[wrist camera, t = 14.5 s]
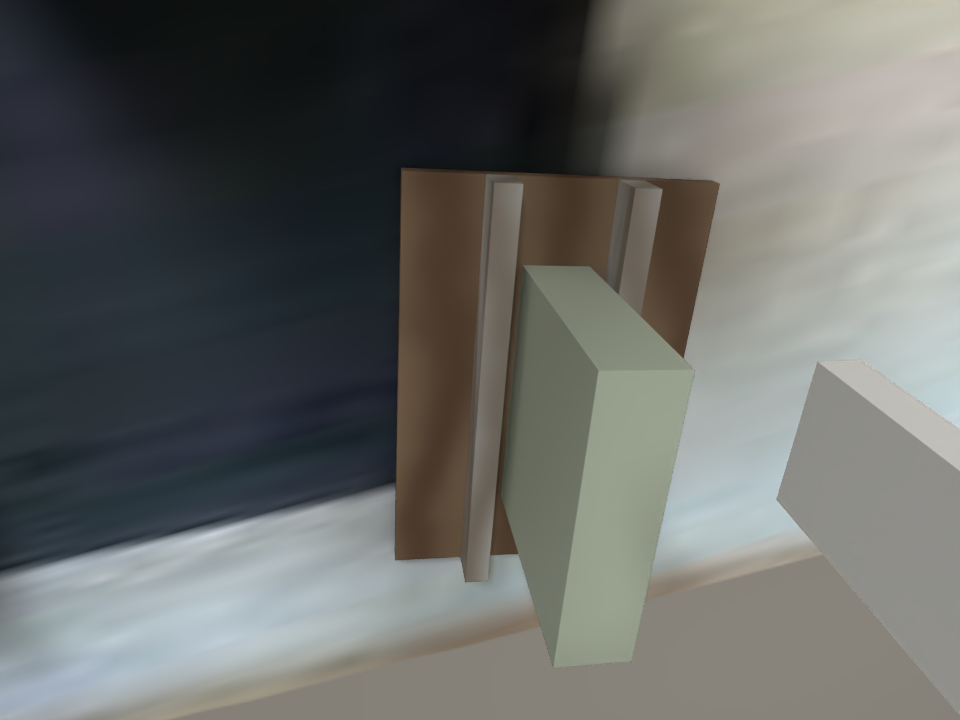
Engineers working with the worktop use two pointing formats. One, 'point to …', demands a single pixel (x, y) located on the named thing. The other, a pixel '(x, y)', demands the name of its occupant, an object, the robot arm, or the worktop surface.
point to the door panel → (589, 458)
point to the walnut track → (511, 322)
